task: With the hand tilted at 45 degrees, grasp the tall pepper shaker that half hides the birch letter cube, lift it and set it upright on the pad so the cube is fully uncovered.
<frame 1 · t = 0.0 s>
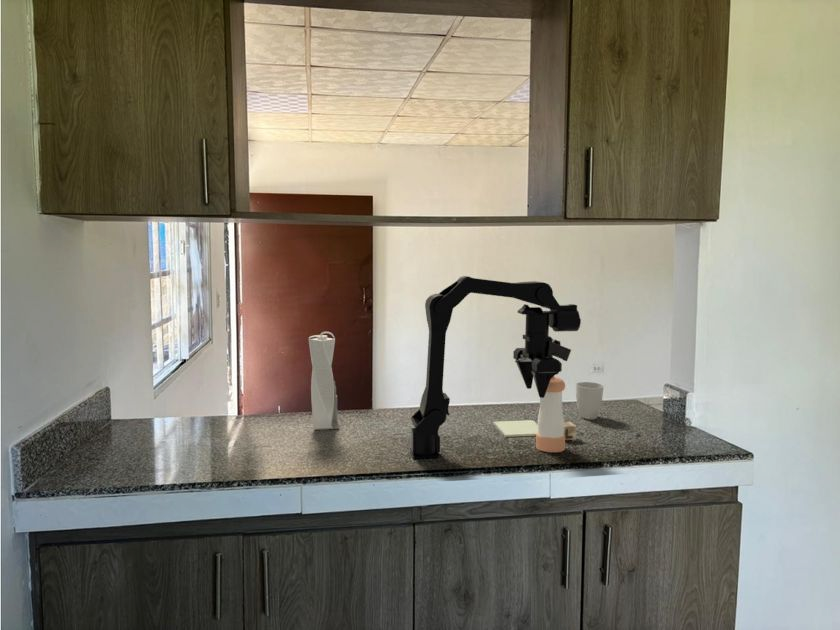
hand: (535, 392, 142), 15 cm above the worktop, tool pointing down, fingers open, 9 cm apart
pepper shaker: (550, 448, 144), on the worktop
cup: (588, 417, 172), on the worktop
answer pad: (519, 429, 159), on the worktop
letter cube: (565, 438, 152), on the worktop
skyscraper: (324, 427, 160), on the worktop
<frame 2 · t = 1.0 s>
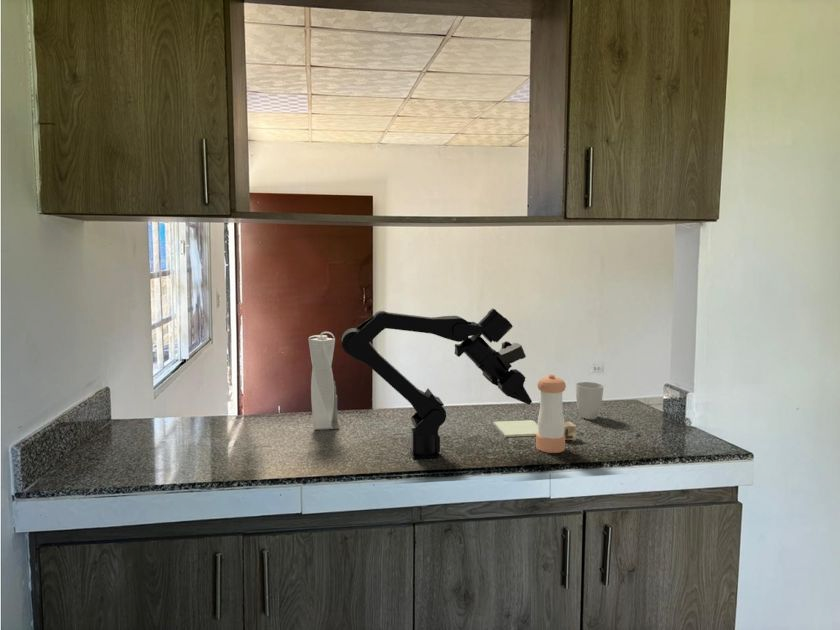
hand: (524, 398, 141), 13 cm above the worktop, tool tilted 45°, fingers open, 9 cm apart
nothing on the worktop moved.
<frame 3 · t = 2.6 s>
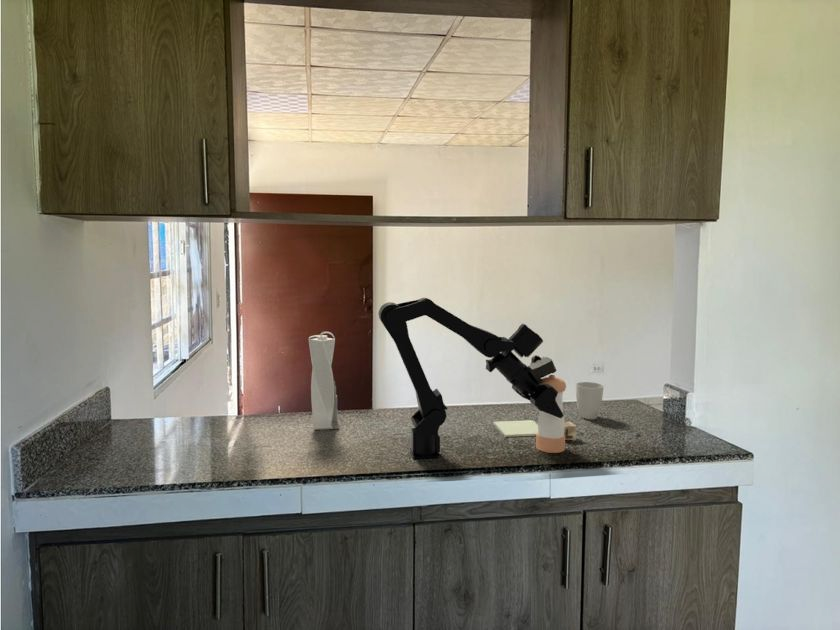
hand: (555, 411, 143), 10 cm above the worktop, tool tilted 45°, fingers open, 9 cm apart
pepper shaker: (550, 448, 144), on the worktop, touching gripper
everything else where it was.
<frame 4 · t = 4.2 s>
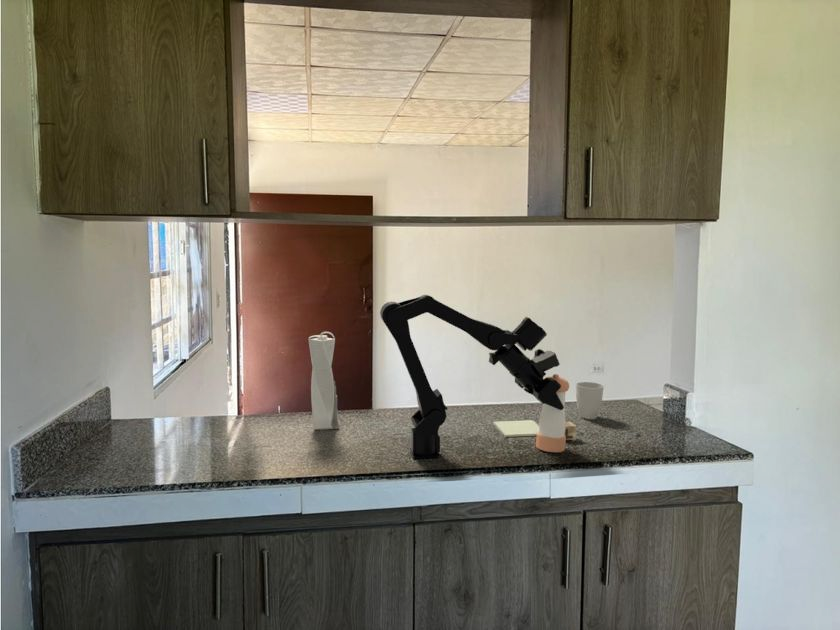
hand: (557, 405, 143), 11 cm above the worktop, tool tilted 45°, fingers closed on pepper shaker, 6 cm apart
pepper shaker: (550, 448, 144), on the worktop, touching gripper
everything else where it was.
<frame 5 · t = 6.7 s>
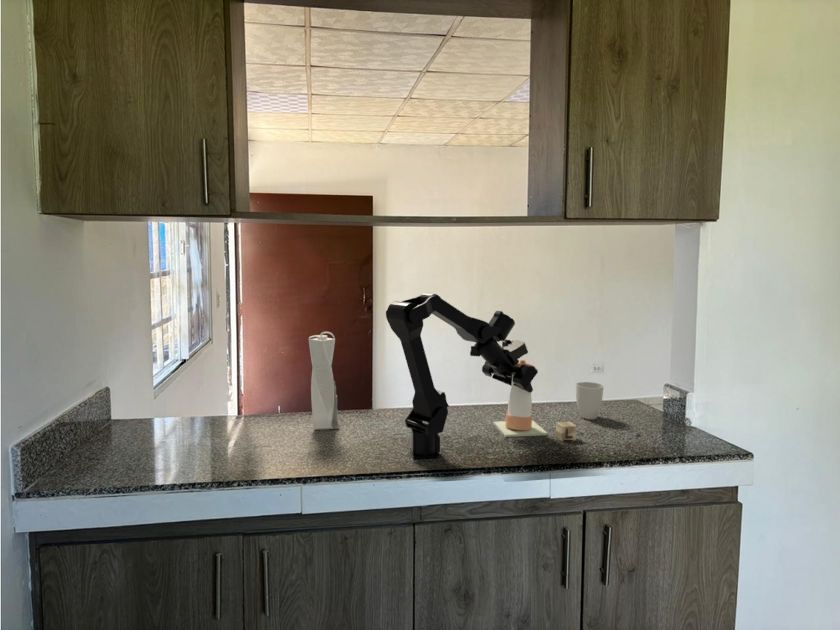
hand: (524, 389, 159), 12 cm above the worktop, tool tilted 45°, fingers closed on pepper shaker, 6 cm apart
pepper shaker: (518, 427, 159), point 1 cm above the worktop, touching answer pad, gripper
everything else where it was.
when the fingers open (12 cm above the worktop, at t = 6.8 s): pepper shaker stays where it is, resting on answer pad.
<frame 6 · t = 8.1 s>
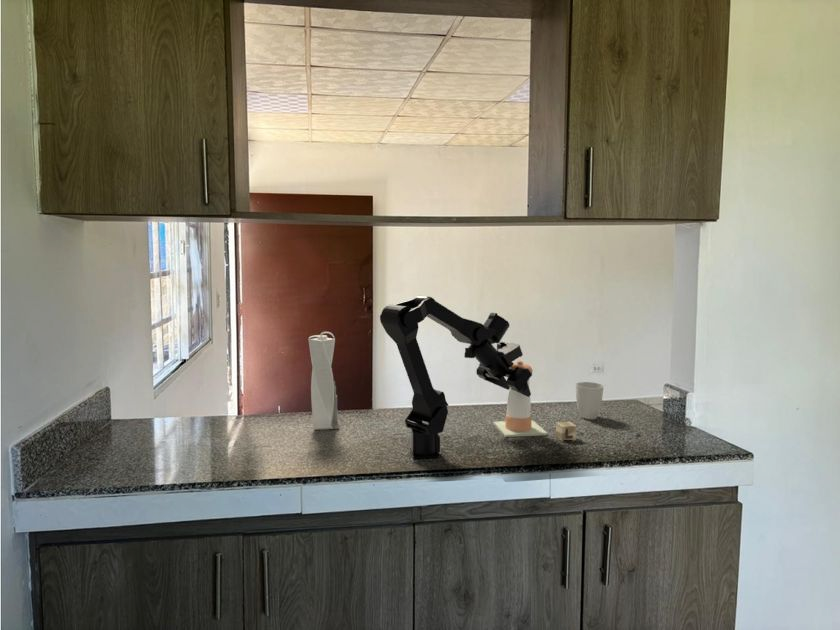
hand: (519, 391, 158), 11 cm above the worktop, tool tilted 45°, fingers open, 9 cm apart
pepper shaker: (518, 428, 159), resting on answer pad
everything else where it was.
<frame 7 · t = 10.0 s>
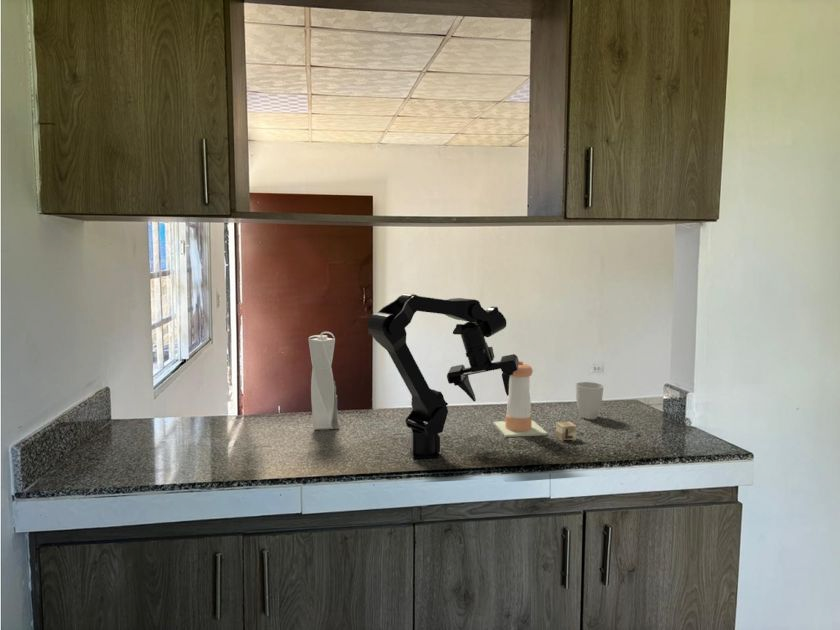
hand: (491, 398, 149), 11 cm above the worktop, tool tilted 20°, fingers open, 9 cm apart
nothing on the worktop moved.
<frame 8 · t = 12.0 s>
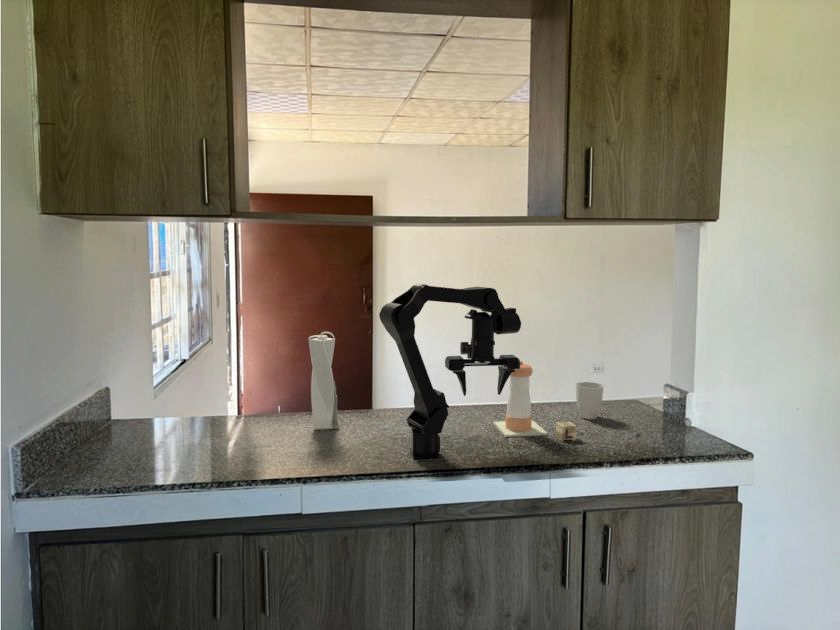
hand: (481, 394, 146), 13 cm above the worktop, tool pointing down, fingers open, 9 cm apart
nothing on the worktop moved.
at the end: pepper shaker inside the target area on the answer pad (0.6 cm from its centre), point 0.4 cm above the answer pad's base; pepper shaker tilted 0°; letter cube moved 0.1 cm from its start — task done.
